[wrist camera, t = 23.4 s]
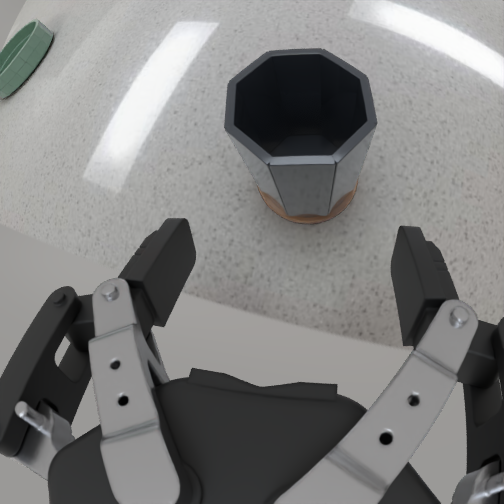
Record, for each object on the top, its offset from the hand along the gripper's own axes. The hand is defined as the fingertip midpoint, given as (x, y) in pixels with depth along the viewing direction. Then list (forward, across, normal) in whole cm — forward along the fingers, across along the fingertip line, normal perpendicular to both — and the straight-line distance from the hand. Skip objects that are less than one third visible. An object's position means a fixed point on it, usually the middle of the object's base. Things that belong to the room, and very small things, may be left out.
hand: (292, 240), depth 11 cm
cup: (+9, 0, -1) cm, 9 cm away
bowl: (+28, -45, +16) cm, 55 cm away
